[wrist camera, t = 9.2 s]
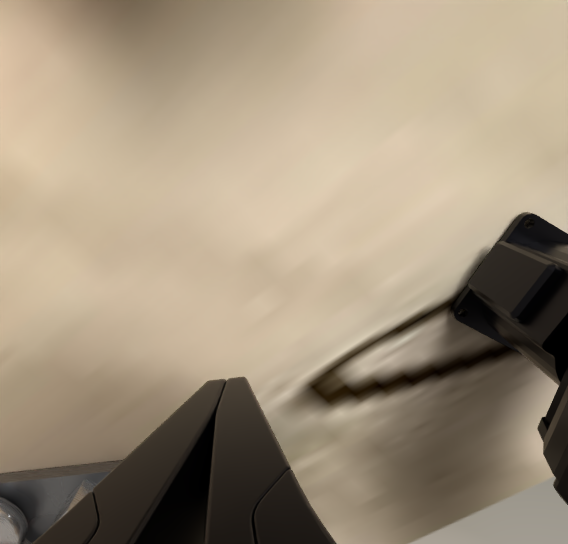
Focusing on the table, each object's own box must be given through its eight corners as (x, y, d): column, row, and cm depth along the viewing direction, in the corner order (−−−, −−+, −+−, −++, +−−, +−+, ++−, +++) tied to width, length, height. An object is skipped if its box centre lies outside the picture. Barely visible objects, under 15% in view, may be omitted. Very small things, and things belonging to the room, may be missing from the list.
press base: (171, 564, 27) (158, 617, 24) (-59, 588, 27) (-101, 643, 24) (133, 435, 23) (111, 478, 20) (-133, 464, 24) (-193, 511, 21)
